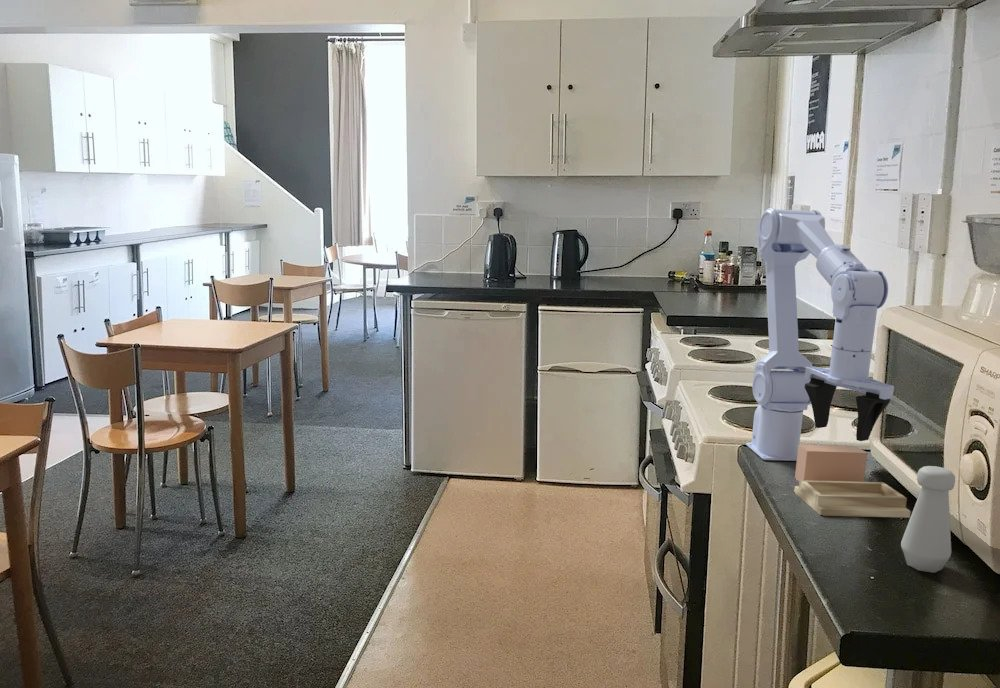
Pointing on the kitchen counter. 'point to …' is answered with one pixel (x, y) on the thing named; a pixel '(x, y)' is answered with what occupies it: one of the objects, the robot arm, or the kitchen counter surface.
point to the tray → (852, 498)
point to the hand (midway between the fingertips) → (841, 433)
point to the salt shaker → (930, 521)
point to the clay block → (830, 463)
